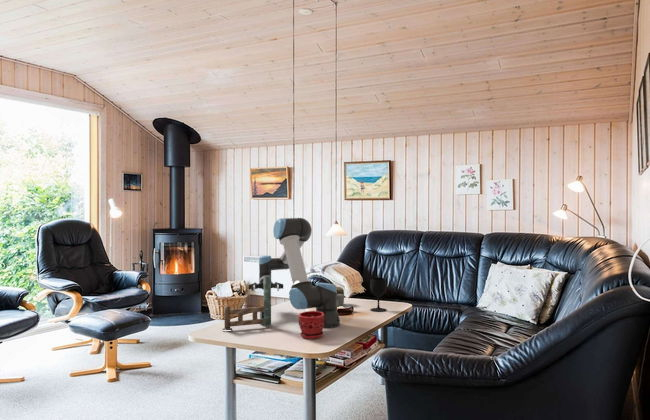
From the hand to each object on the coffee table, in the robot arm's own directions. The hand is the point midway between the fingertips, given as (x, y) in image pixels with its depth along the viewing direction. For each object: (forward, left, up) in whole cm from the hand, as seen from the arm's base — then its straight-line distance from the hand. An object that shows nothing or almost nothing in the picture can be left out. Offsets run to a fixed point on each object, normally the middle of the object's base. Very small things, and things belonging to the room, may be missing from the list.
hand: (266, 289), depth 294 cm
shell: (+28, -58, -19) cm, 67 cm away
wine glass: (0, -74, -19) cm, 77 cm away
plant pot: (-40, -10, -19) cm, 46 cm away
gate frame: (-7, +14, -19) cm, 25 cm away
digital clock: (+12, -47, -19) cm, 53 cm away
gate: (-9, +14, -18) cm, 24 cm away
